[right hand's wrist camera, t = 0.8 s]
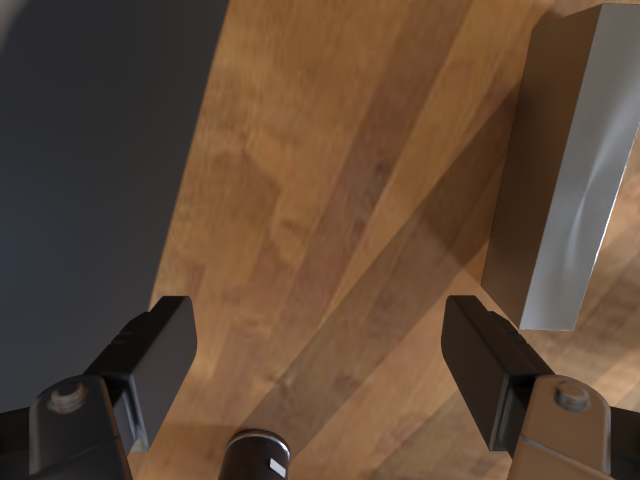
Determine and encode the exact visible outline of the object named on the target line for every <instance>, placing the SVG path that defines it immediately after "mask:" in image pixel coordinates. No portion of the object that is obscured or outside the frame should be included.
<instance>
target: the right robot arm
mask: <svg viewBox="0 0 640 480" xmlns="http://www.w3.org/2000/svg"><path fill="white" fill-rule="evenodd" d="M441 349H442V354H443V357H444V360H445V362H446V364H447V366H448V368H449V370H450V372H451V374H452V376H453V378H454V380H455V382H456V384H457V386H458V388H459V390H460V392H461V394H462V396H463V398H464V400H465V402H466V404H467V406H468V408H469V410H470V412H471V414H472V416H473V418H474V420H475V422H476V424H477V426H478V428H479V430H480V433H481V435H482V437H483V439H484V441H485V443H486V445H487V447H488V449H489V451H508V453H509V455H510V456H511V458H512V464H511V467H510V471H509V474H508V478H507V480H640V413H638V412H634V411H629V410H625V409H620V408H616V407H611V406H609V404H608V403H607V401H606V400H605V399H604V398H603V396H602V395H600V394H599V393H598V392H597V391H596V390H594V389H593V388H591V387H590V386H588V385H586V384H584V383H582V382H580V381H578V380H576V379H573V378H570V377H567V376H562V375H556V374H555V373H554V372H553V371H552V370H551V369H550V367H549V366H548V365H547V364H546V363H545V362H544V361H543V359H542V358H541V357H540V356H539V355H538V354H537V353H536V352H535V350H534V349H533V348H532V347H531V346H530V345H529V344H527V343H526V340H525V339H524V338H523V337H522V336H521V335H520V334H518V331H517V330H516V329H515V328H514V327H513V325H512V324H511V323H510V322H509V321H508V320H506V319H505V318H503V317H502V316H500V315H498V314H497V313H495V312H494V311H487V309H486V308H485V307H484V306H483V304H482V303H481V302H480V301H479V300H478V298H477V297H476V296H474V295H450V296H448V298H447V301H446V306H445V313H444V321H443V328H442V335H441ZM196 350H197V335H196V328H195V321H194V313H193V306H192V301H191V298H190V297H189V296H163V297H162V298H161V299H160V300H159V301H158V302H157V304H156V305H155V306H154V307H153V308H152V310H151V311H150V312H144V313H142V314H140V315H139V316H137V317H136V318H134V319H132V320H131V321H129V322H128V323H127V325H126V326H125V327H124V328H123V329H122V330H121V331H120V333H119V335H117V336H116V337H115V338H114V339H113V340H112V342H111V344H110V345H108V346H107V347H106V348H105V349H104V351H103V352H102V353H101V354H100V355H99V356H98V357H97V358H96V359H95V361H94V362H93V363H92V364H91V365H90V366H89V367H88V368H87V370H86V371H85V372H84V373H83V374H82V375H78V376H73V377H70V378H67V379H64V380H62V381H60V382H58V383H56V384H54V385H52V386H50V387H49V388H47V389H46V390H44V391H43V392H42V393H41V394H40V395H38V396H37V398H36V399H35V400H34V401H33V403H32V404H31V407H27V408H22V409H18V410H13V411H9V412H4V413H0V480H133V478H132V474H131V471H130V467H129V464H128V460H127V456H128V454H129V453H148V451H149V449H150V447H151V445H152V443H153V441H154V439H155V437H156V435H157V433H158V431H159V429H160V427H161V425H162V423H163V421H164V419H165V417H166V415H167V413H168V411H169V409H170V407H171V405H172V403H173V401H174V399H175V397H176V394H177V392H178V390H179V388H180V386H181V384H182V382H183V380H184V378H185V376H186V374H187V372H188V370H189V368H190V366H191V364H192V362H193V360H194V358H195V355H196ZM289 464H290V449H289V447H288V445H287V443H286V442H285V441H284V440H283V439H282V438H281V437H279V436H278V435H276V434H274V433H271V432H268V431H264V430H247V431H243V432H241V433H238V434H237V435H235V436H233V437H232V438H231V439H230V440H229V442H228V443H227V445H226V449H225V452H224V459H223V462H222V466H221V470H220V473H219V476H218V480H288V468H289Z"/></svg>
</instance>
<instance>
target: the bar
mask: <svg viewBox="0 0 640 480" xmlns="http://www.w3.org/2000/svg"><path fill="white" fill-rule="evenodd" d="M639 124H640V4H611V3H602V4H599V5H597V6H594V7H591V8H588V9H585V10H583V11H580V12H577V13H574V14H571V15H569V16H566V17H563V18H560V19H557V20H555V21H552V22H549V23H546V24H543V25H541V26H538V27H535V28H533V29H532V34H531V39H530V44H529V49H528V54H527V59H526V64H525V69H524V74H523V79H522V83H521V88H520V93H519V98H518V103H517V108H516V113H515V118H514V123H513V128H512V133H511V138H510V143H509V148H508V153H507V158H506V162H505V167H504V172H503V177H502V182H501V187H500V192H499V197H498V202H497V207H496V212H495V217H494V222H493V227H492V232H491V236H490V241H489V246H488V251H487V256H486V261H485V266H484V271H483V276H482V281H481V287H482V288H483V289H484V290H485V291H486V293H487V294H488V295H489V296H490V297H491V298H492V299H493V301H494V302H495V303H496V304H497V305H498V306H499V307H500V309H501V310H502V311H503V312H504V313H505V314H506V315H507V316H508V318H509V319H510V320H511V321H512V322H513V323H514V324H515V326H516V327H517V328H518V329H526V330H574V327H575V323H576V320H577V317H578V314H579V311H580V308H581V305H582V302H583V298H584V295H585V292H586V289H587V286H588V283H589V280H590V277H591V274H592V270H593V267H594V264H595V261H596V258H597V255H598V252H599V249H600V245H601V242H602V239H603V236H604V233H605V230H606V227H607V224H608V221H609V217H610V214H611V211H612V208H613V205H614V202H615V199H616V196H617V192H618V189H619V186H620V183H621V180H622V177H623V174H624V171H625V168H626V164H627V161H628V158H629V155H630V152H631V149H632V146H633V143H634V139H635V136H636V133H637V130H638V127H639Z"/></svg>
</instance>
